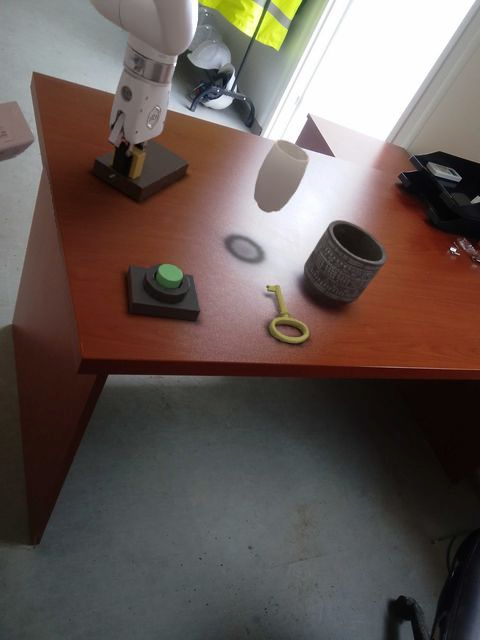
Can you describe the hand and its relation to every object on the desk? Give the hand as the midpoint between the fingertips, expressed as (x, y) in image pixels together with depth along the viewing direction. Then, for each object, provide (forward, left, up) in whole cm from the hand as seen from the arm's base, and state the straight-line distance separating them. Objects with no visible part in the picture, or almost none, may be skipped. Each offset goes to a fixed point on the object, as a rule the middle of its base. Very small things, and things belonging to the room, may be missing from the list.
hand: (125, 169), depth 83 cm
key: (+25, -30, -3) cm, 40 cm away
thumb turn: (0, 0, 0) cm, 0 cm away
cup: (+22, -12, -3) cm, 26 cm away
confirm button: (+5, -29, 0) cm, 30 cm away
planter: (+37, -21, -3) cm, 43 cm away
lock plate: (+3, +5, -3) cm, 7 cm away
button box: (+5, -29, -3) cm, 30 cm away
